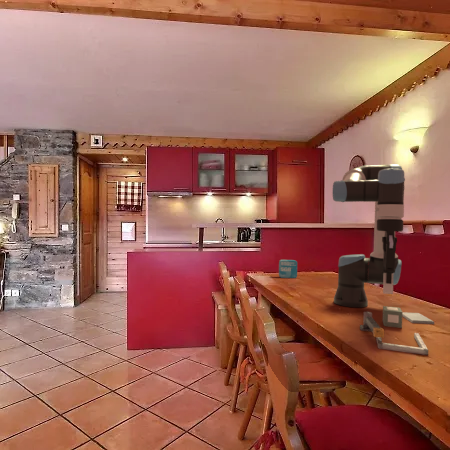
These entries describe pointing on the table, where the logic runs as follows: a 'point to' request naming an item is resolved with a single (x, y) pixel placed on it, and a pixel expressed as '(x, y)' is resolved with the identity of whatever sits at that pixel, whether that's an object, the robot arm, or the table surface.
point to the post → (365, 326)
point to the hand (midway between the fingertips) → (387, 293)
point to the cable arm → (375, 327)
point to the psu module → (392, 316)
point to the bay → (403, 348)
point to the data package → (288, 268)
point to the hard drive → (416, 318)
